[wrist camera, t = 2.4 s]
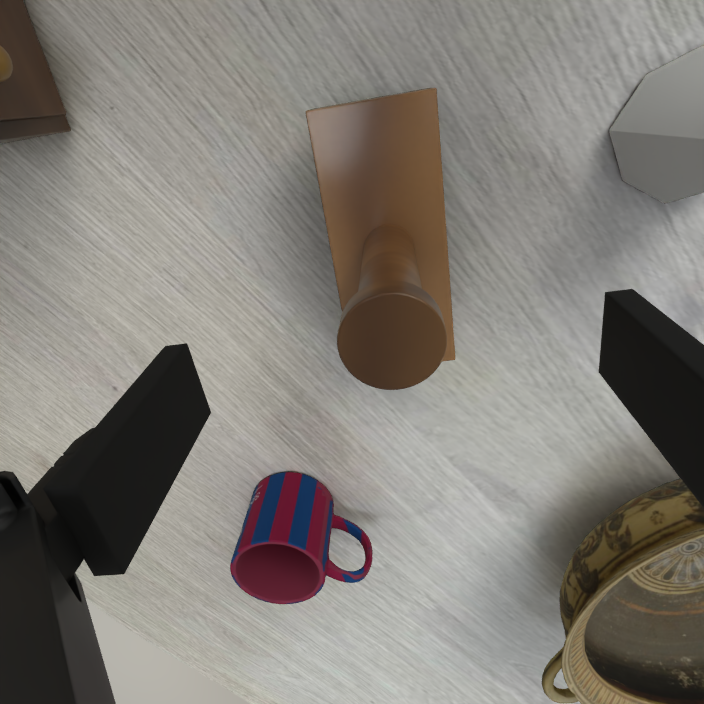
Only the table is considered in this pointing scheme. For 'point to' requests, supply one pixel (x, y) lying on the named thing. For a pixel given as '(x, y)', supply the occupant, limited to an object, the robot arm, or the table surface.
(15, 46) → the cabinet
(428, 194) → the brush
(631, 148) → the flask
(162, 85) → the table surface
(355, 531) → the mug
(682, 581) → the ceramic bowl
